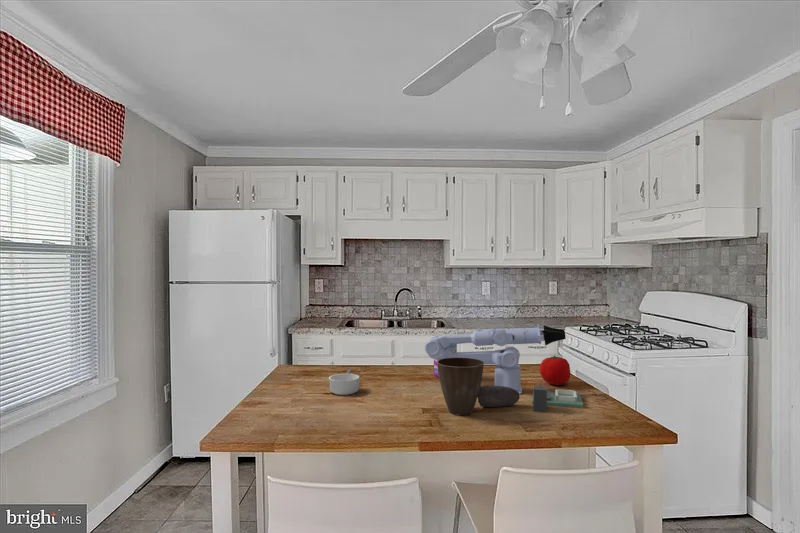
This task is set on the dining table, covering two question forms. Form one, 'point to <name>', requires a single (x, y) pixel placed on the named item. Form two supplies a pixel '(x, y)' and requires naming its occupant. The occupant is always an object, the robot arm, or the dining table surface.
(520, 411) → the dining table surface
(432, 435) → the dining table surface
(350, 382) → the saucepan
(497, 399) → the perforated stone tool
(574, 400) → the board
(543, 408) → the plug
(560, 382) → the tomato
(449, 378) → the plant pot
